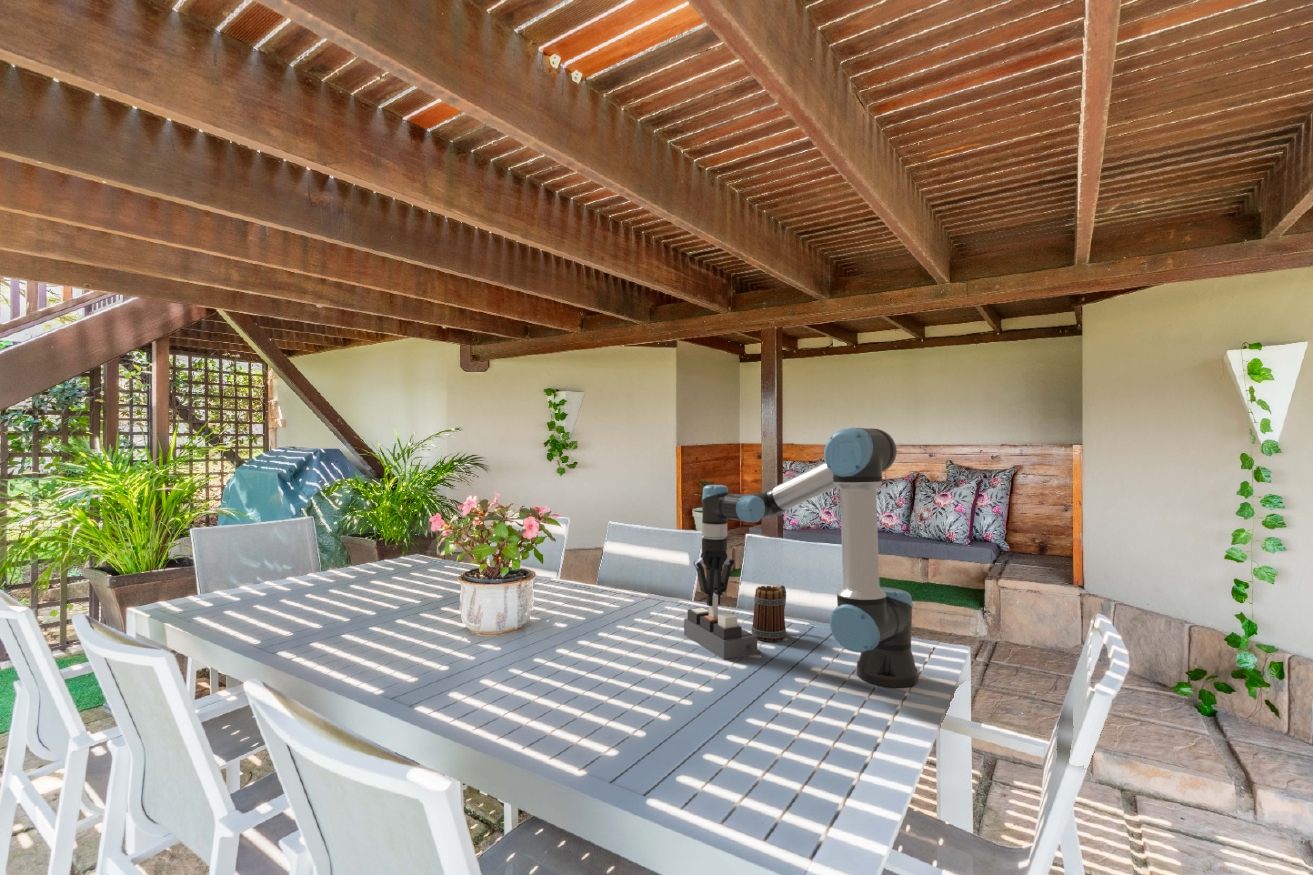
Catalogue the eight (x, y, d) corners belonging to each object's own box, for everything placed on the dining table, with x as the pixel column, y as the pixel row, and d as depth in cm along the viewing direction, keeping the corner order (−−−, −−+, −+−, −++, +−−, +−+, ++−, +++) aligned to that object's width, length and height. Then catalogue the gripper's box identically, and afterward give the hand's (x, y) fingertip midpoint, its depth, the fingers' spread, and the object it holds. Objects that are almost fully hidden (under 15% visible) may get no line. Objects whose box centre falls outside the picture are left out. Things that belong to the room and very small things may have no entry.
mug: (776, 644, 195) (777, 594, 195) (745, 637, 201) (745, 589, 201) (798, 632, 207) (799, 585, 207) (768, 626, 214) (769, 580, 214)
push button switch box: (768, 660, 182) (768, 631, 181) (734, 665, 177) (734, 636, 177) (714, 630, 208) (714, 605, 208) (683, 634, 204) (684, 609, 203)
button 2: (722, 628, 193) (722, 617, 193) (710, 629, 191) (710, 619, 191) (715, 624, 197) (715, 614, 197) (704, 625, 195) (704, 615, 195)
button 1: (737, 627, 186) (737, 616, 186) (725, 628, 184) (725, 618, 184) (729, 623, 190) (729, 613, 189) (717, 624, 188) (718, 614, 188)
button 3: (709, 620, 200) (709, 611, 200) (697, 622, 199) (697, 612, 199) (702, 617, 204) (702, 607, 204) (691, 618, 202) (691, 609, 202)
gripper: (726, 534, 200) (725, 610, 200) (689, 536, 195) (687, 615, 195) (739, 537, 193) (738, 617, 194) (701, 540, 188) (700, 622, 188)
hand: (713, 616), depth 194 cm, fingers closed
